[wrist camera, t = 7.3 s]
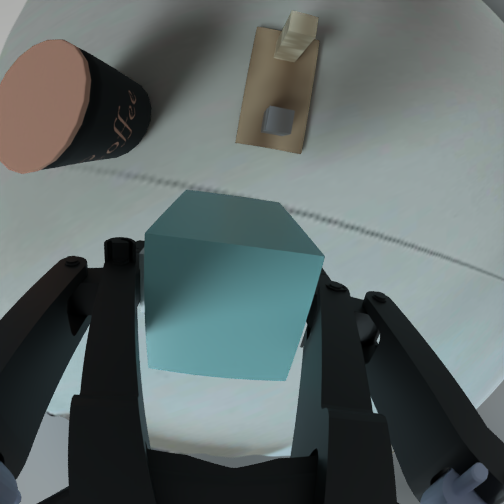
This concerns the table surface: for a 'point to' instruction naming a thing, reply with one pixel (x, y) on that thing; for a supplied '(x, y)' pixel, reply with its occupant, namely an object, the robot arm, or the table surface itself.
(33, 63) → the coffee jar
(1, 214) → the table surface
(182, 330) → the teal rectangular block
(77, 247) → the table surface
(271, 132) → the stand
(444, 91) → the table surface
